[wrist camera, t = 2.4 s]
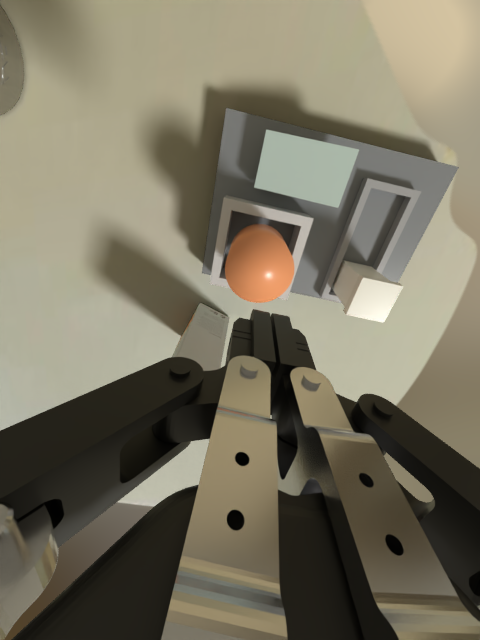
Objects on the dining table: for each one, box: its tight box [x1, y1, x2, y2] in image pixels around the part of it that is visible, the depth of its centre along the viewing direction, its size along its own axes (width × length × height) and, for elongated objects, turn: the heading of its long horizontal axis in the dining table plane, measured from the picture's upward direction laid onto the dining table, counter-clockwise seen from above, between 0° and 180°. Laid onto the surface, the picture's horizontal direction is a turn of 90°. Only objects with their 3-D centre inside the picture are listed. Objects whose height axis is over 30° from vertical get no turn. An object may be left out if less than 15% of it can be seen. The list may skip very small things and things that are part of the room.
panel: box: [202, 108, 459, 303], centre depth 25 cm, size 20×14×6 cm
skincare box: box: [172, 303, 229, 371], centre depth 29 cm, size 6×4×12 cm
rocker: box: [254, 130, 359, 208], centre depth 21 cm, size 7×4×1 cm, turn 78°
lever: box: [332, 260, 403, 323], centre depth 24 cm, size 3×3×6 cm
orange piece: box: [225, 224, 294, 303], centre depth 21 cm, size 5×5×5 cm
